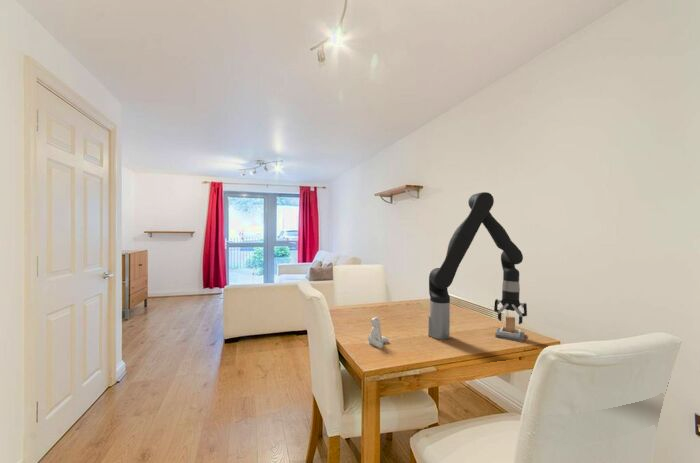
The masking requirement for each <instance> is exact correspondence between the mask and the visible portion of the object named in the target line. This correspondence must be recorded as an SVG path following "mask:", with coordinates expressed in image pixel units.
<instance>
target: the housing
mask: <svg viewBox="0 0 700 463" xmlns="http://www.w3.org/2000/svg"><path fill="white" fill-rule="evenodd" d="M524 336H526V332H524V331H522V330H521V329H520V328H515V333H510V332H506V326H501V327H498V328H497V330H496V332H495V338H498V337H499V338H500V339H503V340H504V339H505V340H509V339H511V340H510V341H514V340H516V342H519V341H522V342H521V343H524V342H525V337H524Z"/></svg>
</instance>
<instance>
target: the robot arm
mask: <svg viewBox="0 0 700 463" xmlns="http://www.w3.org/2000/svg"><path fill="white" fill-rule="evenodd" d="M468 198H469V199H468V206H469V208H470V212H469V213H468V215H467V217H466V218H465V219H464V220H463V221H462V222H461V223H460V225H459V226H458V227H457V228H456V229H455V231H454V232H453V234H452V236H451V237H450V240H449V242H448V246H447V250H446V255H445V258H444V261H443V262H442V264H441V266H440V267H435V268H433V269H432V270H431V271H430V273H429V276H428V292H429V299H430V301H429V302H430V307H429V308H430V309H429V316H428V336H429V337H431V338H433V339H437V340H448V339H450V334H451V333H450V327H451V325H450V323H451V322H450V320H451V319H450V318H451V315H450V314H451V312H450V310H451V307H450V306H451V297H450V294H449V291H448V288H449V287H450V286H451V285H452V284H453V281H454V278H455V276H456V273H457V272H458V269H459V267H460V264H461V262H462V261H463V259H464V257H465V255H466V254H467V251H468V250H469V248H470V246H471V244H472V242H473V241H474V239H475V236H476V234H477V232H478V231H479V229H480V226H482V225H483V226H484V228H485V229H486V231H487V232H488V233H489V236H490V237H491V239H492V241H493V242H494V244H495V245H496V247H497V248H498V249H500V250H501V251H502V252H501V254H500V262H501V268H502V271H503V276H502V277H503V278H502V284H501V285H502V288H501V289H502V290H501V299H497V298H496V299H495V300H494V306H493V312H495V313H497V319H498V321H499V322H502V312H504V311H505V310H506V311H512V312H514V311H515V312H516V313H517V315H518V325H521V324H523V318H524V317H527V316H528V308H527V306H528V305H527V303H526V302H524V303H523V302H521V301H520V293H521V292H520V289H521V288H520V287H521V285H520V271H519V269H517V268H516V265H519V264H521V263H522V262H523V259H524V256H523V252H522V251H521V250H520V249H519V247H518V246H517V245H516V244H515V243H514V242H513V241H512V239H511V238H510V236H509V234H508V232H507V231H506V230H505V228H504V227H503V226H502V224H501V223H500V222H498V220H497V219H496V218H495V217H494V216H493V215H492V213H491V212H490V211H491V210H492V207H493V206H494V203H495V200H494V196H493V195H492V194H491V193H490V192H485V191H484V192H478V193H474V194H472V195H471V196H470V197H468ZM500 303H501V305H502V306H501V308H499V309H498V305H500ZM520 306H521V308H522V309H523V312H522V311H521V310H520V309H519V307H520Z"/></svg>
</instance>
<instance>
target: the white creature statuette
mask: <svg viewBox="0 0 700 463" xmlns="http://www.w3.org/2000/svg"><path fill="white" fill-rule="evenodd" d="M370 324H371V326H372V328H371V331H370V333H369V335H368V337H367V340H368V342H369V344H370V345H372V346H374V347H376V348H377V349H383V348H384V344H389V338H388V337H386V336H383V335H382V329H381V321H380V319H379V317H377V316H375V317H373V318H372V319H370Z"/></svg>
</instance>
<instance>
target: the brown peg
mask: <svg viewBox="0 0 700 463" xmlns="http://www.w3.org/2000/svg"><path fill="white" fill-rule="evenodd" d="M505 327H506V332H510V333H515V329H516V318H515V316H511V315H506V316H505Z"/></svg>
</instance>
